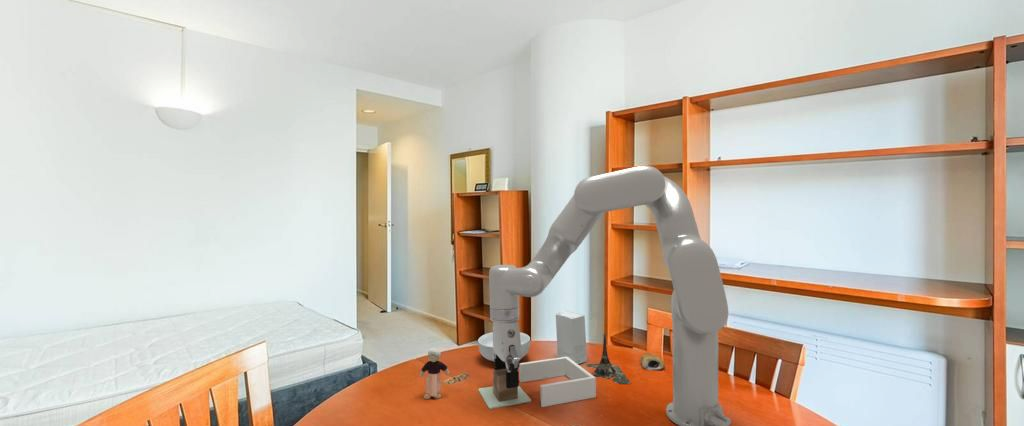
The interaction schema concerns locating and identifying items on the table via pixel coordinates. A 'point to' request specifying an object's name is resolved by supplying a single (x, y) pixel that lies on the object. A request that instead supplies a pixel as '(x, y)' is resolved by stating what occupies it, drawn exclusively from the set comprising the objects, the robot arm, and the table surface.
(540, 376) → the open side box
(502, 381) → the walnut block
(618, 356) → the table surface
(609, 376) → the eiffel tower figurine
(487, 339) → the cereal bowl
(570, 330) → the skincare box
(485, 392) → the sage mat
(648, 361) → the pastry
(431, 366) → the grandmother figurine
